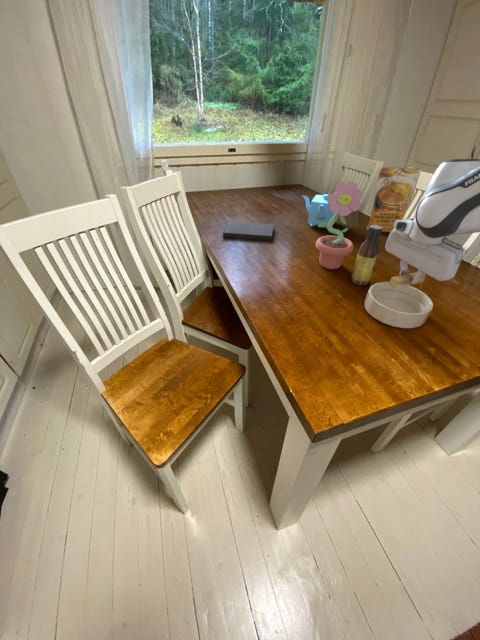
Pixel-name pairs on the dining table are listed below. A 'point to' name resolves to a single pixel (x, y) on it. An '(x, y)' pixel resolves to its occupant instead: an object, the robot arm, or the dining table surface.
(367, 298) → the bowl
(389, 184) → the pancake mix bag
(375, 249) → the sauce bottle
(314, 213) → the teakettle
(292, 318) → the dining table surface
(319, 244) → the decorative flower
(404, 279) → the beige rectangular block
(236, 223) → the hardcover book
